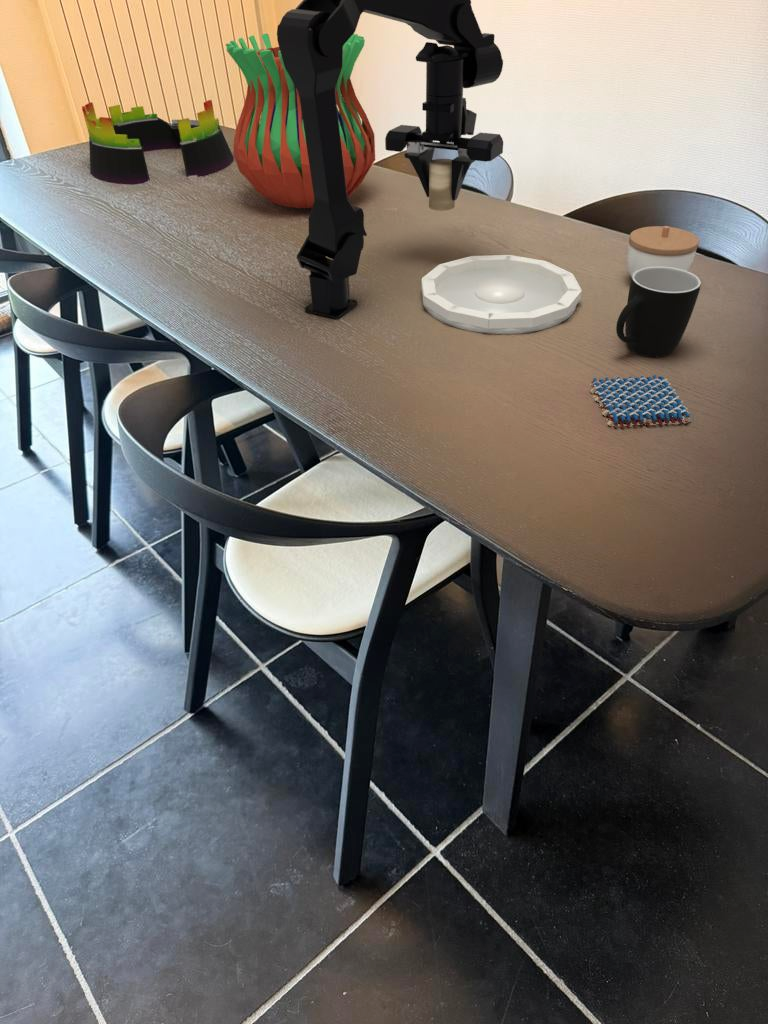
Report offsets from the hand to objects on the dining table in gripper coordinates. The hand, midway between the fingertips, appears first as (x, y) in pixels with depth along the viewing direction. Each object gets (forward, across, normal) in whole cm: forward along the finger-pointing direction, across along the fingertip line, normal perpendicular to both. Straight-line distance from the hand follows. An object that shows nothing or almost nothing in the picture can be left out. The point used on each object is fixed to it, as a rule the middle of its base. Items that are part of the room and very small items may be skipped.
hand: (441, 198), depth 120 cm
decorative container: (+12, +95, -32) cm, 101 cm away
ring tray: (+12, -15, +9) cm, 21 cm away
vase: (+12, +43, -22) cm, 50 cm away
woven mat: (+12, -43, +31) cm, 54 cm away
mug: (+12, -40, +16) cm, 45 cm away
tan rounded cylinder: (+1, 0, 0) cm, 1 cm away
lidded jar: (+12, -36, -8) cm, 39 cm away
